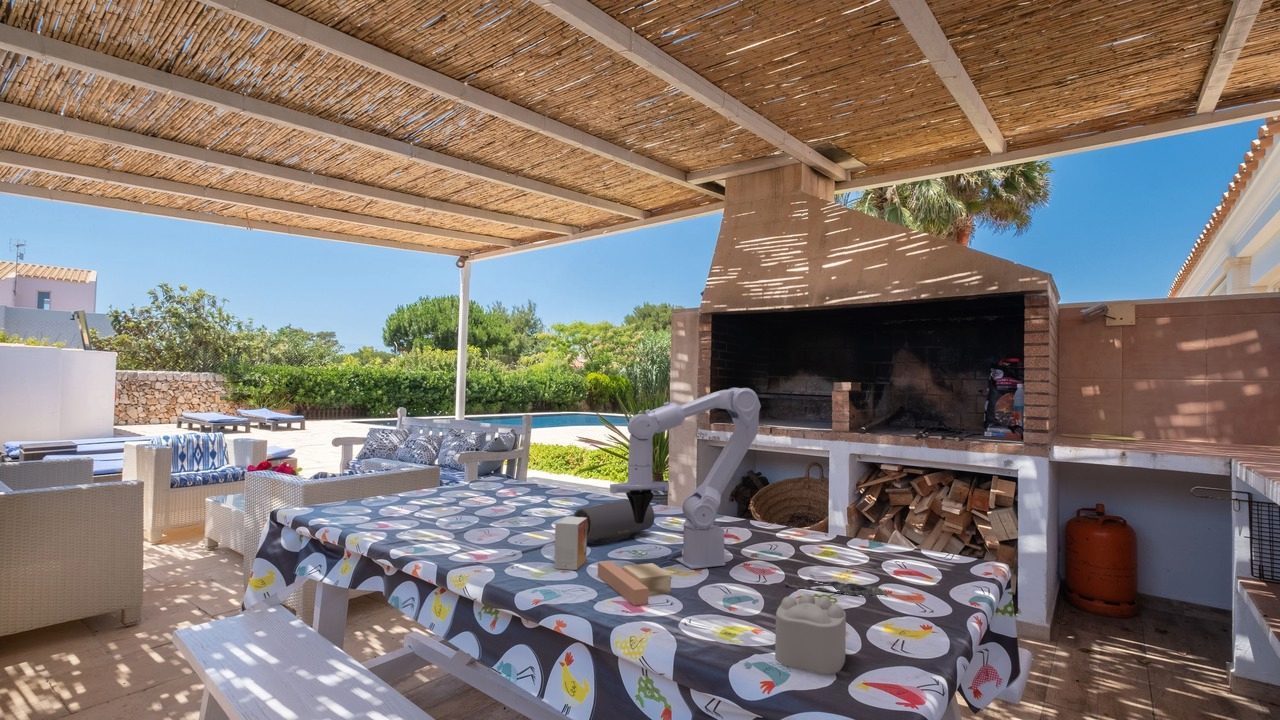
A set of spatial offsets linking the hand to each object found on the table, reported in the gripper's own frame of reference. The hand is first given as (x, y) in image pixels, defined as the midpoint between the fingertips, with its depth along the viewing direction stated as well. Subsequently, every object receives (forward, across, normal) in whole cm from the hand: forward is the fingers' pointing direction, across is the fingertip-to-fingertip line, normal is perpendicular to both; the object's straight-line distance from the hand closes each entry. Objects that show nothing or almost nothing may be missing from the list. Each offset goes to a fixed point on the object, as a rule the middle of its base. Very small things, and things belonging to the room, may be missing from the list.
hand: (638, 522), depth 150 cm
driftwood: (+11, -33, +30) cm, 46 cm away
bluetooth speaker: (+10, -4, -25) cm, 27 cm away
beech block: (+10, +5, +16) cm, 20 cm away
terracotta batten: (+10, +10, +15) cm, 21 cm away
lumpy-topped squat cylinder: (+10, -6, +55) cm, 56 cm away
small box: (+10, +15, -5) cm, 19 cm away
